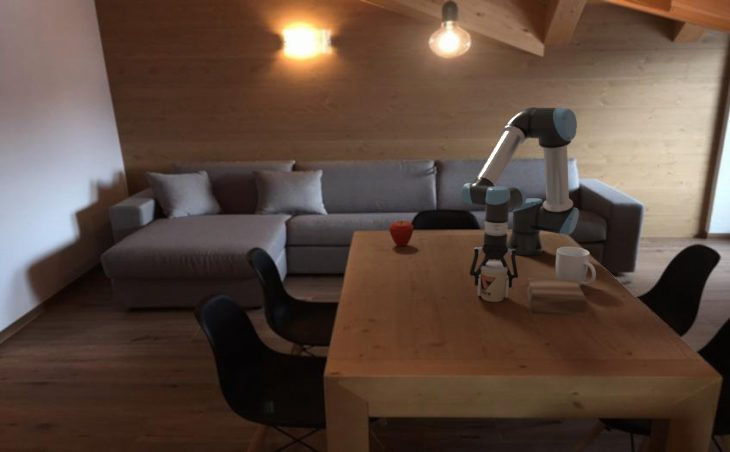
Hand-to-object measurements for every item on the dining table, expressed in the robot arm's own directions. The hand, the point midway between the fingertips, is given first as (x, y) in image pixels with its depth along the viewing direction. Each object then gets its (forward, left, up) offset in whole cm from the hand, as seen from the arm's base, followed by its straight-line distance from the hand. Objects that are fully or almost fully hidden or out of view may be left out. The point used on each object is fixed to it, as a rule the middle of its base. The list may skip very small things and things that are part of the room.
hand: (492, 294), depth 174 cm
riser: (+3, +20, -1) cm, 20 cm away
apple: (-53, -39, -1) cm, 66 cm away
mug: (-15, +29, -1) cm, 33 cm away
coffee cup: (0, 0, -1) cm, 1 cm away
